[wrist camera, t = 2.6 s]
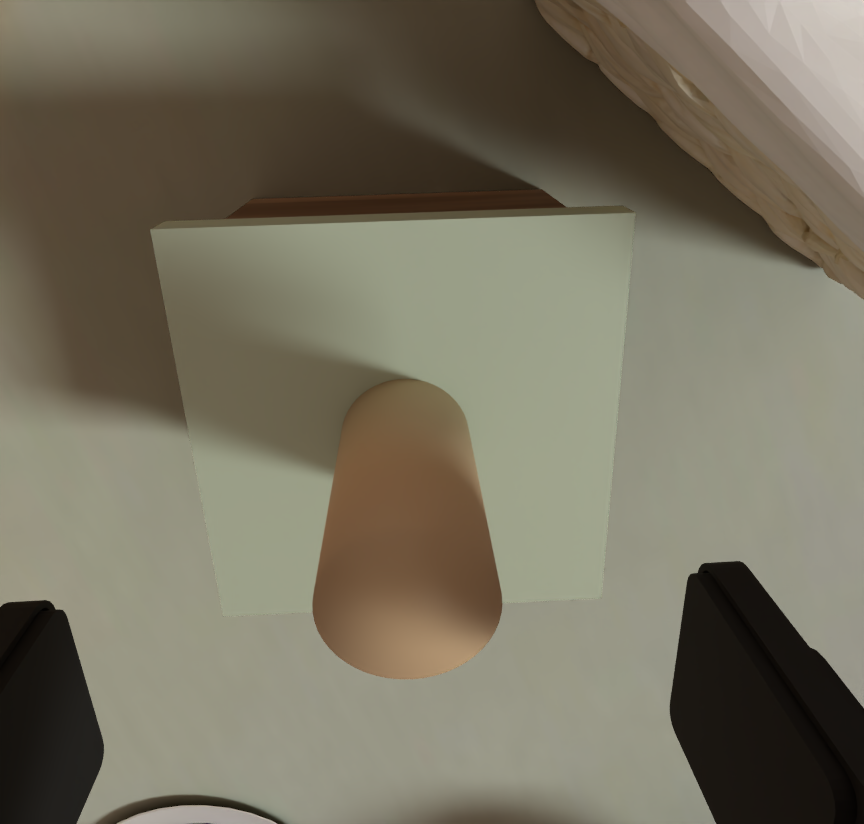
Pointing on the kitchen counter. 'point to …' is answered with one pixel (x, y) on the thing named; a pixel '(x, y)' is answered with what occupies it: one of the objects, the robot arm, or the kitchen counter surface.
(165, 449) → the kitchen counter surface
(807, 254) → the storage basket
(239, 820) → the pudding
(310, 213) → the walnut box
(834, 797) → the robot arm
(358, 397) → the lid
